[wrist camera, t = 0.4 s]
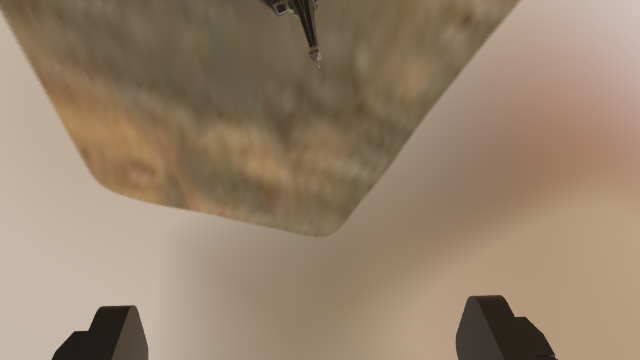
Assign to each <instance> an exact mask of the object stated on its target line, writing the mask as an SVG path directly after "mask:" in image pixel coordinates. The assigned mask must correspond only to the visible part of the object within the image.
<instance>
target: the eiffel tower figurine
mask: <svg viewBox="0 0 640 360" xmlns="http://www.w3.org/2000/svg"><path fill="white" fill-rule="evenodd" d="M269 1H270V3H271V5H272V7H273V9H274V11H275V13H276V15H277V17H278V16H281V15H283V14H285V13H287V12H289V13H291V12H294V13H295V15H296V17H299V18H300V20H301V23H302V26H303V29H304V32H305V35H306V38H307V41H308V44H309V47H310V51H309V54H310V56H311V58H312V60H313V62H315V61H317V65H318V69H319V70H320V68H319V64H318V60H320V59H322V54H321V52H320V50H319V48H318V42H317V35H316V28H315V15H314V12H315V10H316V9H317V4H316V3H317V1H318V0H269Z"/></svg>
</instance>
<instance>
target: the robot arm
mask: <svg viewBox="0 0 640 360" xmlns="http://www.w3.org/2000/svg"><path fill="white" fill-rule="evenodd" d="M456 351H457V356H458V359H459V360H558V359H556V358H555V354H554V352H553V350H552V349H551V347H550V345H549V343H548V341H547V340H546V338H545V337H544V335H543V333H542V332H540V331H539V330H538V329H537V328H536V327H535V326H534V325H533V324H532V323H531V322H530V321H529V320H528V319H527V318H526V317H515V316H514V314H513V313H512V311H511V309H510V307H509V305H508V303H507V301H506V300H505V298H504V297H503V296H501V295H488V296H470V297H469V298H468V299H467V302H466V305H465V308H464V312H463V315H462V318H461V321H460V324H459V328H458V331H457V334H456ZM52 360H148V345H147V341H146V338H145V334H144V330H143V327H142V323H141V320H140V316H139V313H138V310H137V308H136V306H133V305H132V306H102V307H100V308H99V309H98V310H97V312H96V314H95V316H94V319H93V321H92V323H91V326H90V328H89V331H74V333H72V334H71V336H70V337H69V338H68V339H67V340H66V341H65V342H64V343H63V344H62V345H61V346H60V347H59V349H57V351H56V352H55V354H54V356H53V358H52Z"/></svg>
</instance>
